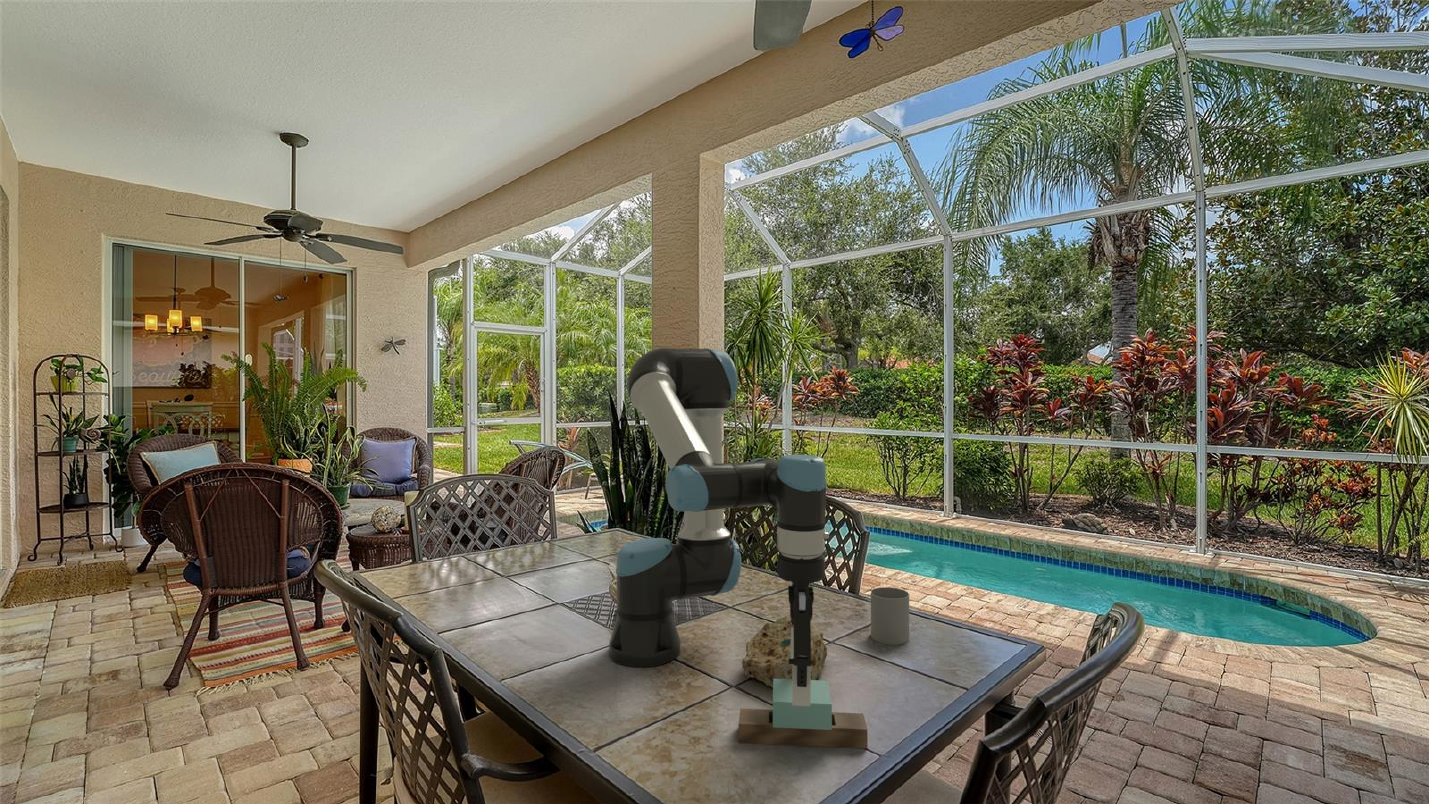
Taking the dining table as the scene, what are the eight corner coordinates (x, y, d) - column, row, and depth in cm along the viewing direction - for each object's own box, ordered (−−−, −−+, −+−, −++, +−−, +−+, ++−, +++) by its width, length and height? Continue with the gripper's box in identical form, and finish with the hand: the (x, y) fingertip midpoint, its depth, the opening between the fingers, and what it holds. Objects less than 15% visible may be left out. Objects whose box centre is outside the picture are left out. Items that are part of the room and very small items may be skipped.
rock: (814, 704, 117) (799, 651, 117) (742, 707, 124) (728, 656, 123) (840, 650, 136) (828, 604, 136) (776, 655, 142) (764, 611, 142)
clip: (773, 749, 101) (772, 701, 101) (773, 723, 109) (773, 678, 109) (831, 752, 100) (831, 704, 100) (828, 725, 108) (828, 680, 108)
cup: (910, 645, 141) (910, 600, 141) (871, 643, 143) (871, 597, 143) (907, 631, 150) (907, 588, 149) (870, 629, 151) (870, 586, 151)
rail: (738, 742, 103) (738, 723, 103) (740, 726, 108) (740, 708, 108) (867, 748, 101) (867, 729, 101) (863, 731, 106) (863, 713, 106)
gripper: (831, 578, 91) (829, 726, 92) (820, 534, 116) (818, 651, 117) (777, 576, 92) (775, 723, 93) (777, 533, 117) (776, 649, 118)
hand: (799, 683), depth 105 cm, fingers open, 13 cm apart
